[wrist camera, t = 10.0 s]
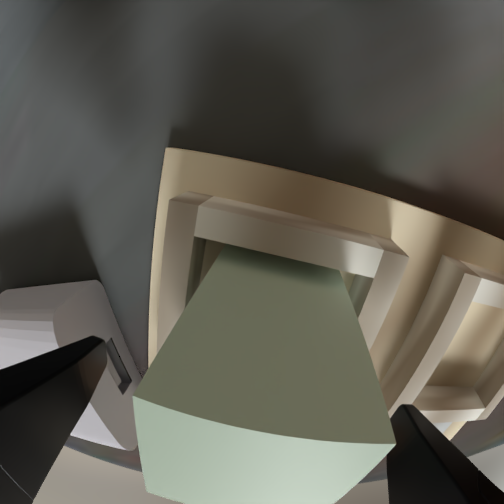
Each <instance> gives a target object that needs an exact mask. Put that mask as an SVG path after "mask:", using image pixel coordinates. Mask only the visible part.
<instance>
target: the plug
mask: <svg viewBox="0 0 504 504" xmlns="http://www.w3.org/2000/svg"><path fill="white" fill-rule="evenodd" d="M133 407H134V416H135V425H136V432H137V440H138V447H139V453H140V459H141V465H142V471H143V476H144V481H145V486H146V491H147V492H149V493H152V494H155V495H158V496H161V497H164V498H167V499H171V500H174V501H177V502H181V503H184V504H334V503H335V502H336V501H338V500H339V499H340V498H341V497H342V496H344V495H345V494H346V493H347V492H348V491H349V490H350V489H352V487H354V486H355V485H356V484H357V483H358V482H359V481H360V480H362V479H363V478H364V477H365V476H366V475H367V474H368V473H369V472H370V471H371V470H372V469H373V468H374V467H375V466H376V465H377V464H378V463H379V462H380V461H381V460H382V459H383V458H384V457H385V456H386V455H387V454H388V453H389V452H390V450H391V449H392V448H393V447H394V446H395V445H396V440H395V436H394V433H393V429H392V425H391V422H390V418H389V414H388V411H387V407H386V404H385V401H384V397H383V394H382V391H381V387H380V384H379V381H378V378H377V374H376V371H375V368H374V365H373V362H372V359H371V356H370V353H369V350H368V347H367V344H366V341H365V338H364V335H363V332H362V330H361V327H360V324H359V321H358V318H357V316H356V313H355V310H354V307H353V305H352V302H351V299H350V297H349V294H348V291H347V289H346V286H345V284H344V281H343V278H342V276H341V273H340V271H339V270H337V269H333V268H329V267H324V266H320V265H316V264H312V263H307V262H303V261H299V260H295V259H290V258H286V257H282V256H278V255H273V254H269V253H265V252H260V251H256V250H252V249H248V248H243V247H239V246H235V245H230V244H226V245H225V246H224V248H223V249H222V251H221V252H220V254H219V255H218V257H217V259H216V260H215V262H214V263H213V265H212V266H211V268H210V270H209V271H208V273H207V274H206V276H205V277H204V279H203V281H202V282H201V284H200V285H199V287H198V289H197V290H196V292H195V293H194V295H193V297H192V298H191V300H190V301H189V303H188V305H187V306H186V308H185V309H184V311H183V313H182V314H181V316H180V317H179V319H178V321H177V322H176V324H175V326H174V327H173V329H172V330H171V332H170V334H169V335H168V337H167V339H166V340H165V342H164V344H163V345H162V347H161V349H160V350H159V352H158V354H157V355H156V357H155V359H154V360H153V362H152V364H151V365H150V367H149V369H148V370H147V372H146V374H145V375H144V377H143V379H142V380H141V382H140V384H139V385H138V387H137V389H136V390H135V392H134V394H133Z"/></svg>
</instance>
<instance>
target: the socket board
mask: <svg viewBox="0 0 504 504" xmlns="http://www.w3.org/2000/svg"><path fill="white" fill-rule="evenodd" d="M226 244H230V245H235V246H239V247H243V248H248V249H252V250H256V251H260V252H265V253H269V254H273V255H278V256H282V257H286V258H290V259H295V260H299V261H303V262H307V263H312V264H316V265H320V266H324V267H329V268H333V269H337V270H339V271H340V273H341V276H342V278H343V281H344V284H345V286H346V289H347V291H348V294H349V297H350V299H351V302H352V305H353V307H354V310H355V313H356V316H357V318H358V321H359V324H360V327H361V330H362V332H363V335H364V338H365V341H366V344H367V347H368V350H369V353H370V356H371V359H372V362H373V365H374V368H375V371H376V374H377V378H378V381H379V384H380V387H381V391H382V394H383V397H384V401H385V404H386V407H387V411H388V414H389V418H391V416H392V415H393V414H394V412H395V411H396V410H397V408H398V407H399V406H400V405H401V404H412V405H414V406H415V407H416V408H417V409H418V410H419V411H420V412H421V413H422V414H423V415H424V416H425V417H426V418H427V419H428V420H429V421H430V422H431V423H432V424H433V425H434V426H435V427H436V428H437V429H438V430H439V431H440V432H441V433H442V434H443V435H444V436H445V437H446V438H447V439H449V440H451V438H452V437H453V436H454V435H455V434H456V433H457V432H458V431H459V430H460V428H461V427H462V426H463V425H464V424H465V423H466V421H472V420H482V419H486V418H487V417H488V416H489V414H490V413H491V412H492V411H493V409H494V408H495V407H496V406H497V404H498V403H499V402H500V400H501V399H502V398H503V396H504V240H502V239H499V238H497V237H495V236H492V235H490V234H488V233H485V232H483V231H481V230H478V229H476V228H473V227H471V226H468V225H466V224H463V223H461V222H458V221H456V220H453V219H450V218H448V217H445V216H442V215H440V214H437V213H434V212H431V211H429V210H426V209H423V208H420V207H417V206H414V205H411V204H408V203H405V202H402V201H399V200H396V199H393V198H390V197H387V196H384V195H381V194H377V193H374V192H371V191H367V190H364V189H361V188H357V187H354V186H350V185H347V184H343V183H340V182H336V181H332V180H328V179H325V178H321V177H317V176H313V175H309V174H305V173H301V172H297V171H293V170H289V169H284V168H280V167H276V166H271V165H267V164H262V163H257V162H252V161H248V160H243V159H238V158H232V157H227V156H222V155H216V154H211V153H205V152H199V151H193V150H186V149H180V148H166V150H165V156H164V163H163V169H162V176H161V183H160V190H159V198H158V206H157V214H156V223H155V233H154V244H153V255H152V268H151V284H150V304H149V340H148V368H149V367H150V365H151V364H152V362H153V360H154V359H155V357H156V355H157V354H158V352H159V350H160V349H161V347H162V345H163V344H164V342H165V340H166V339H167V337H168V335H169V334H170V332H171V330H172V329H173V327H174V326H175V324H176V322H177V321H178V319H179V317H180V316H181V314H182V313H183V311H184V309H185V308H186V306H187V305H188V303H189V301H190V300H191V298H192V297H193V295H194V293H195V292H196V290H197V289H198V287H199V285H200V284H201V282H202V281H203V279H204V277H205V276H206V274H207V273H208V271H209V270H210V268H211V266H212V265H213V263H214V262H215V260H216V259H217V257H218V255H219V254H220V252H221V251H222V249H223V248H224V246H225V245H226Z"/></svg>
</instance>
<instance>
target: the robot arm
mask: <svg viewBox="0 0 504 504" xmlns="http://www.w3.org/2000/svg"><path fill="white" fill-rule="evenodd" d="M107 362H108V358H107V349H106V342H105V340H104V339H102V338H99V337H97V336H94V335H92V336H89V337H86V338H84V339H81V340H78V341H76V342H73V343H70V344H68V345H65V346H63V347H60V348H57V349H55V350H52V351H49V352H47V353H44V354H41V355H39V356H36V357H33V358H30V359H28V360H25V361H22V362H20V363H17V364H14V365H11V366H9V367H6V368H3V369H0V504H32V503H33V500H34V498H35V497H36V495H37V493H38V491H39V489H40V487H41V485H42V483H43V482H44V480H45V478H46V476H47V474H48V472H49V471H50V469H51V467H52V465H53V463H54V462H55V460H56V458H57V456H58V455H59V453H60V451H61V449H62V448H63V446H64V444H65V443H66V441H67V439H68V437H69V436H70V434H71V432H72V431H73V429H74V427H75V426H76V424H77V422H78V421H79V419H80V417H81V416H82V414H83V413H84V411H85V409H86V408H87V406H88V404H89V402H90V400H91V398H92V396H93V394H94V391H95V389H96V387H97V385H98V383H99V381H100V379H101V377H102V374H103V372H104V370H105V368H106V366H107ZM390 422H391V425H392V429H393V433H394V436H395V440H396V445H395V446H394V447H393V448H392V449H391V450H390V452H389V453H388V454H387V478H388V492H389V504H504V492H502V491H501V490H500V489H499V488H498V487H497V486H495V485H494V484H493V483H492V482H491V481H490V480H489V479H488V478H487V477H486V476H485V475H484V474H483V473H482V472H481V471H480V470H479V471H478V468H477V467H476V466H475V465H474V464H473V463H471V461H470V460H469V459H468V458H467V457H466V456H465V455H464V454H463V453H462V452H461V451H460V450H459V449H458V448H457V447H456V446H455V445H454V444H453V443H452V442H451V441H450V440H449V439H447V438H446V437H445V436H444V435H443V434H442V433H441V432H440V431H439V430H438V429H437V428H436V427H435V426H434V425H433V424H432V423H431V422H430V421H429V420H428V419H427V418H426V417H425V416H424V415H423V414H422V413H421V412H420V411H419V410H418V409H417V408H416V407H415V406H414V405H412V404H401V405H400V406H399V407H398V408H397V410H396V411H395V412H394V414H393V415H392V416H391V418H390Z"/></svg>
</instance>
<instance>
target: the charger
mask: <svg viewBox="0 0 504 504" xmlns="http://www.w3.org/2000/svg"><path fill="white" fill-rule="evenodd" d="M92 335H94V336H97V337H99V338H102V339H104V340H105V342H106V349H107V358H108V362H107V366H106V368H105V370H104V372H103V374H102V377H101V379H100V381H99V383H98V385H97V387H96V389H95V391H94V394H93V396H92V398H91V400H90V402H89V404H88V406H87V408H86V409H85V411H84V413H83V414H82V416H81V417H80V419H79V421H78V422H77V424H76V426H75V427H74V429H73V431H72V432H71V434H70V435H72V436H75V437H79V438H82V439H85V440H89V441H92V442H96V443H99V444H103V445H107V446H111V447H115V448H120V449H124V450H129V451H132V450H134V449H135V448H136V446H137V444H138V440H137V432H136V425H135V416H134V407H133V394H134V392H135V390H136V389H137V387H138V385H139V384H140V382H141V380H142V377H141V375H140V373H139V371H138V369H137V367H136V365H135V363H134V360H133V358H132V356H131V354H130V352H129V349H128V347H127V345H126V343H125V340H124V338H123V336H122V333H121V331H120V328H119V326H118V323H117V321H116V318H115V316H114V313H113V311H112V308H111V305H110V303H109V300H108V298H107V295H106V292H105V289H104V287H103V285H102V284H101V283H100V282H99V281H97V280H89V281H80V282H71V283H62V284H53V285H44V286H35V287H26V288H16V289H8V290H5V291H4V292H2V293H1V294H0V369H3V368H6V367H9V366H11V365H14V364H17V363H20V362H22V361H25V360H28V359H30V358H33V357H36V356H39V355H41V354H44V353H47V352H49V351H52V350H55V349H57V348H60V347H63V346H65V345H68V344H70V343H73V342H76V341H78V340H81V339H84V338H86V337H89V336H92ZM111 338H112V340H113V342H114V344H115V346H116V349H117V351H118V353H119V355H120V357H121V359H122V361H123V363H124V366H125V368H126V370H127V372H128V374H129V376H130V378H131V380H132V382H131V380H130V378H129V376H128V374H127V372H126V370H125V368H124V366H123V364H122V362H121V360H120V358H119V356H118V354H117V351H116V349H115V347H114V345H113V343H112V340H111Z"/></svg>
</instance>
